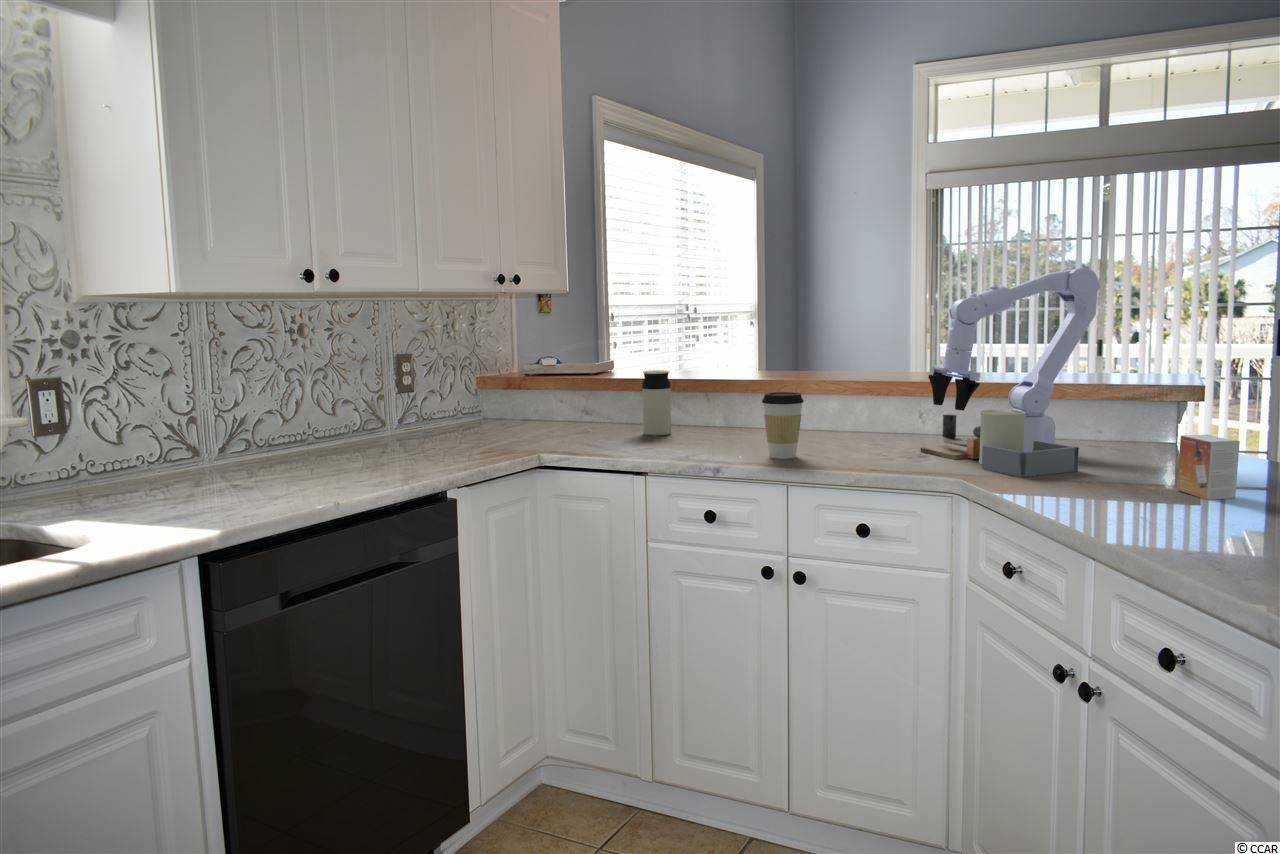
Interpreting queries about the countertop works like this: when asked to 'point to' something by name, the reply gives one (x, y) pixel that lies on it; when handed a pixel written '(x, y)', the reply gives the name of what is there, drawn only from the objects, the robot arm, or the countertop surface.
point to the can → (1002, 429)
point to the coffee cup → (782, 423)
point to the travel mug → (656, 403)
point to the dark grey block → (970, 443)
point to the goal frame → (1031, 459)
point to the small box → (1208, 466)
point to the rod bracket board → (947, 451)
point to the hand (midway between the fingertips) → (948, 407)
